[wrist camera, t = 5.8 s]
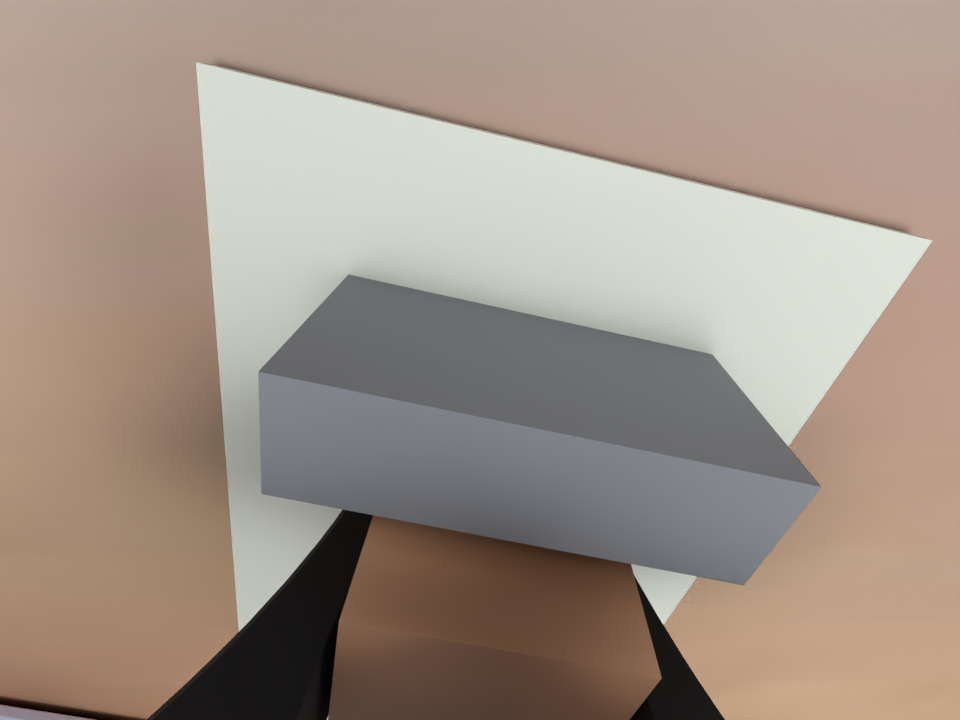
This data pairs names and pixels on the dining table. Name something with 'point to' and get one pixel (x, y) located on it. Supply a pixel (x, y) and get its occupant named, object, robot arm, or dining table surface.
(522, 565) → the block
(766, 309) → the board
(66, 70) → the dining table surface
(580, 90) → the dining table surface
